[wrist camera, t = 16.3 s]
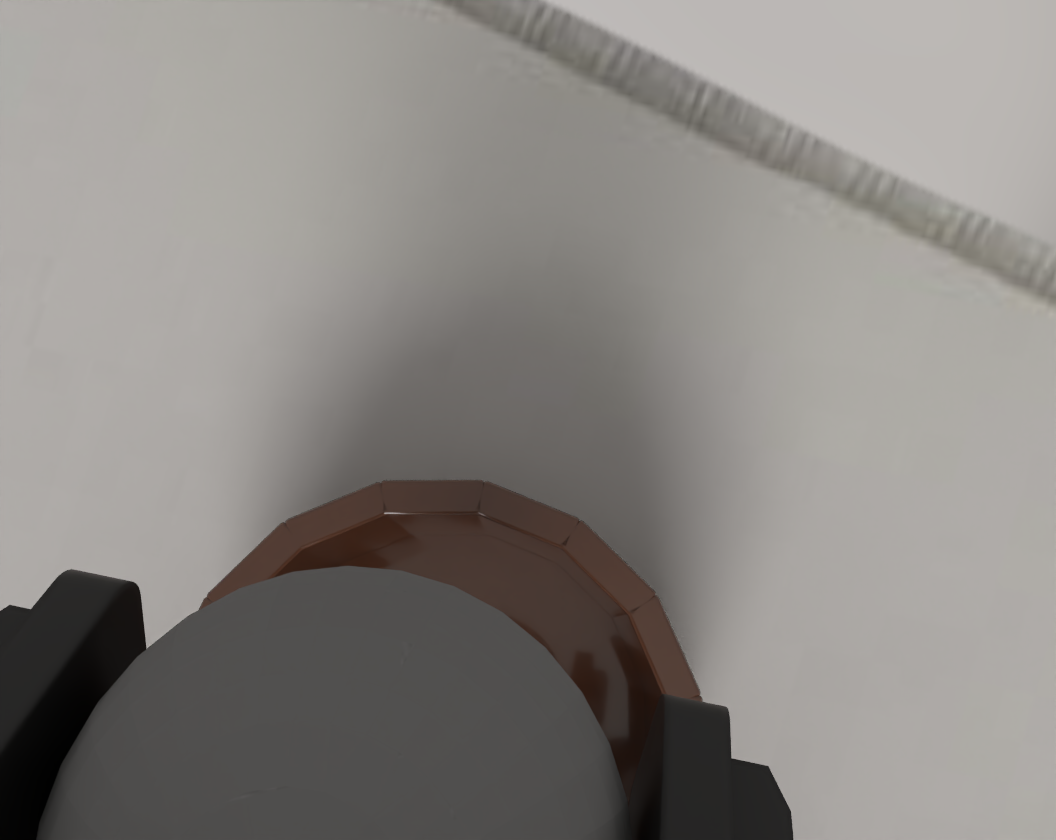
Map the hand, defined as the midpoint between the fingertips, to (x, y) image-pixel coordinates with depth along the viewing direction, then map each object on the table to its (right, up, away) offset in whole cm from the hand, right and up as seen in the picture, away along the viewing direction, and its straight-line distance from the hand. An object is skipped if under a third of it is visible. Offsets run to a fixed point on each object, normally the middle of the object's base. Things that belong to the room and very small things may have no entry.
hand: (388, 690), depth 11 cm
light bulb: (0, -3, +6) cm, 7 cm away
